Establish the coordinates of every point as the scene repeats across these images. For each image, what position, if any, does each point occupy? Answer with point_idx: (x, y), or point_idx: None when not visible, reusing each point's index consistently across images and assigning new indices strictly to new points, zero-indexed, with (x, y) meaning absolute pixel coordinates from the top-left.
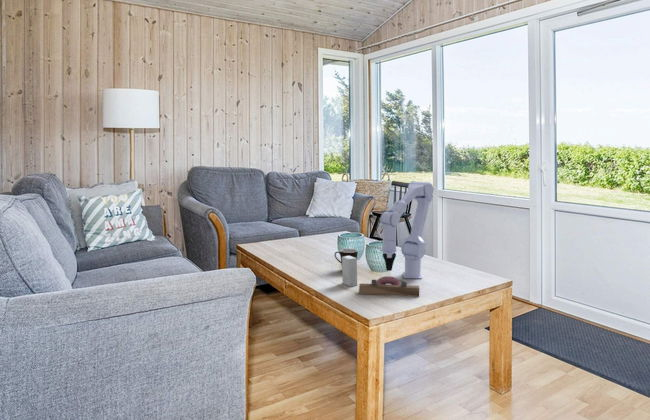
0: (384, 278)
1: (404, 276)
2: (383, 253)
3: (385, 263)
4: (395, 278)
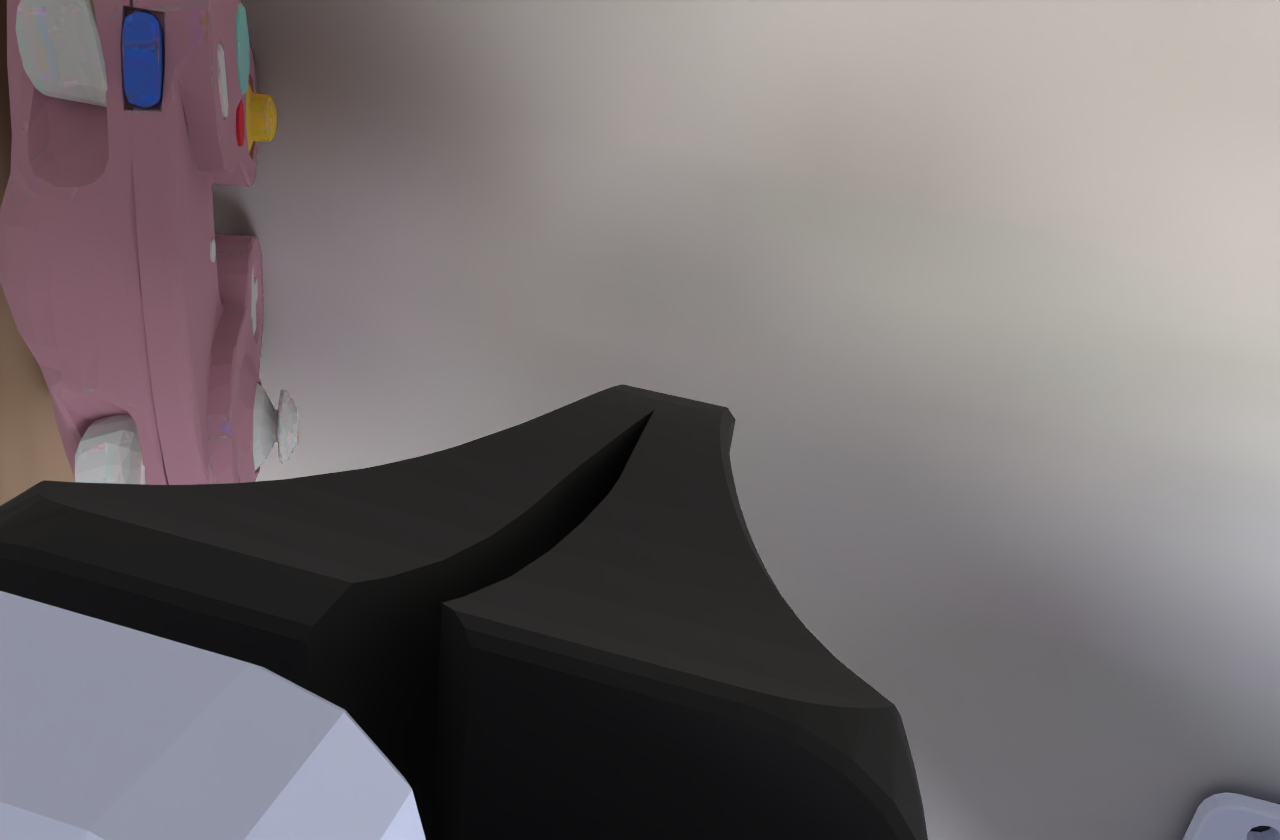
0: (14, 147)
1: (1277, 827)
2: (858, 800)
3: (446, 449)
4: (79, 461)
